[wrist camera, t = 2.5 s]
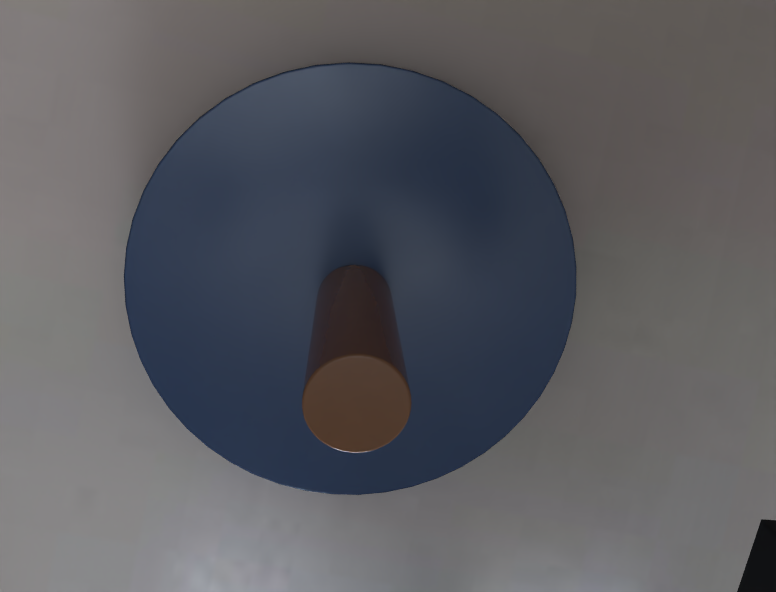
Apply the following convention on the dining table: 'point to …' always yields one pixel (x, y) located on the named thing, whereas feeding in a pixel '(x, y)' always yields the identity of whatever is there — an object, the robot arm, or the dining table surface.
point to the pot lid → (350, 278)
